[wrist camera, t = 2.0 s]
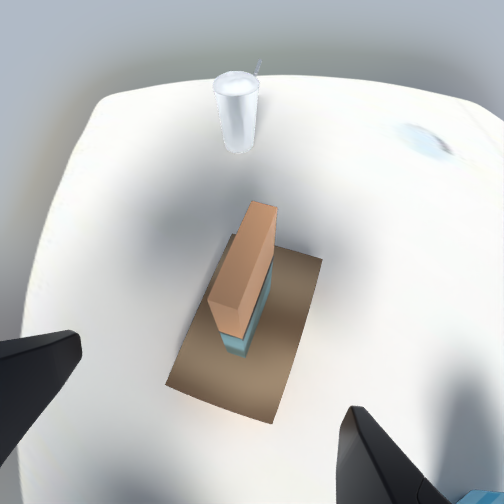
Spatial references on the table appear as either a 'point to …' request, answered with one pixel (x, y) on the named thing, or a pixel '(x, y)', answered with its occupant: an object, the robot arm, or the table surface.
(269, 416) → the brown display base
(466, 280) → the table surface
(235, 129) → the milkshake
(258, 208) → the brown rectangular block
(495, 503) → the data package
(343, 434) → the robot arm
